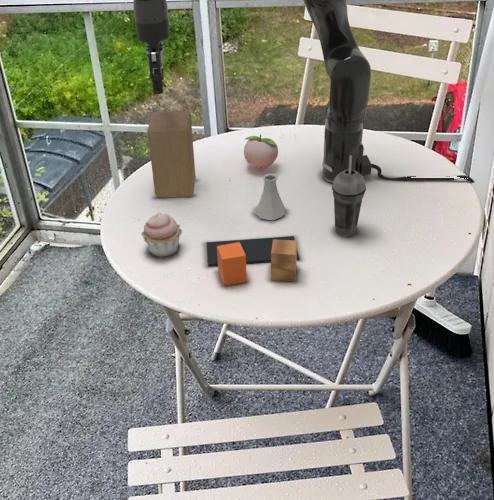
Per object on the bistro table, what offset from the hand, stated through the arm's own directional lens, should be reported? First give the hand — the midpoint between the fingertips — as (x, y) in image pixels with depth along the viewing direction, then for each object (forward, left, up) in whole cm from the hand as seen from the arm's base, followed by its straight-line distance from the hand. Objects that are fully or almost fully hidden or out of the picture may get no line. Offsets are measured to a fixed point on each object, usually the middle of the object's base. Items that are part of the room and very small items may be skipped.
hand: (158, 86), depth 155 cm
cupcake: (+1, +26, -29) cm, 39 cm away
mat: (-19, +30, -29) cm, 45 cm away
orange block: (-14, +38, -29) cm, 50 cm away
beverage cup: (-41, +24, -29) cm, 55 cm away
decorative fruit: (-25, -8, -29) cm, 39 cm away
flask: (-25, +14, -29) cm, 41 cm away
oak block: (-25, +38, -29) cm, 54 cm away
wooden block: (-2, -1, -29) cm, 29 cm away
